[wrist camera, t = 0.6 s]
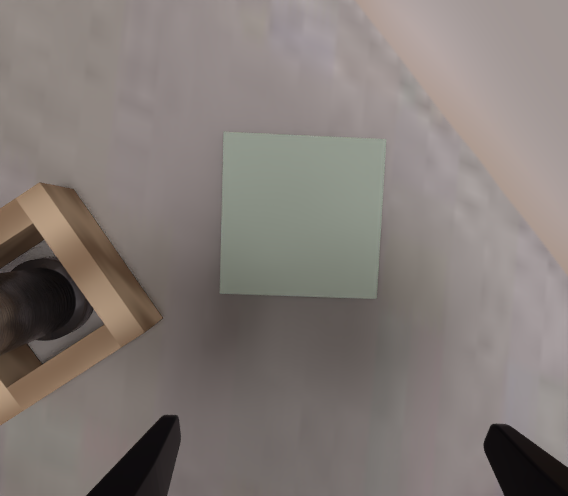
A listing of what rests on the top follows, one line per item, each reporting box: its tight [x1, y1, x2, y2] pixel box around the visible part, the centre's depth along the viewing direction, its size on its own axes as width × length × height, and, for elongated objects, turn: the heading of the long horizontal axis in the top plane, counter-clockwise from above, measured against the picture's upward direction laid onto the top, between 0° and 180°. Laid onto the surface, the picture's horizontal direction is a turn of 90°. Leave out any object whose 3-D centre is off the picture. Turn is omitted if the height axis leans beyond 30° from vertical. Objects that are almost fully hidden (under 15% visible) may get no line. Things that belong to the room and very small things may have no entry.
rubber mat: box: [220, 132, 386, 299], centre depth 21 cm, size 12×12×1 cm
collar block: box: [0, 183, 163, 425], centre depth 20 cm, size 12×12×3 cm
